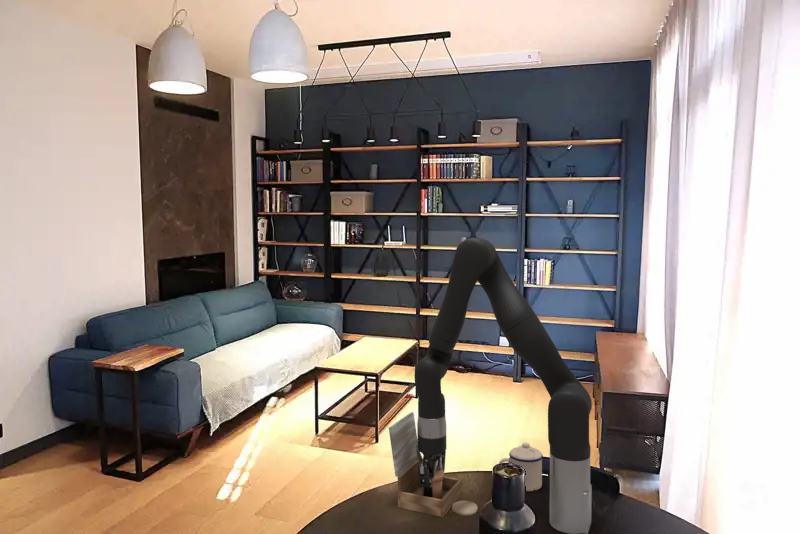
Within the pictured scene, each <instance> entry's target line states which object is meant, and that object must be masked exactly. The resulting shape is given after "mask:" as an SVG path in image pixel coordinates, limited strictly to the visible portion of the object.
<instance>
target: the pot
mask: <svg viewBox="0 0 800 534" xmlns="http://www.w3.org/2000/svg"><path fill="white" fill-rule="evenodd" d="M429 474H432V473H430V472H429ZM444 476H445V471H444V470H443V469H441V470H439V469H437V470H436V475H435V476H434V478H433V479H432V482H433V486H432V490H433V498H436V499H441V500H442V480H443V479H444ZM422 481H423V480H422ZM429 482H430V478H429ZM422 496H424V487H422Z"/></svg>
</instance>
